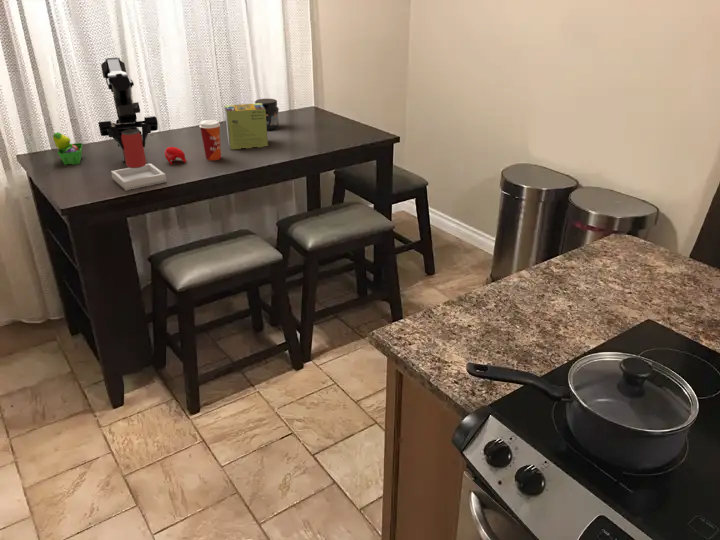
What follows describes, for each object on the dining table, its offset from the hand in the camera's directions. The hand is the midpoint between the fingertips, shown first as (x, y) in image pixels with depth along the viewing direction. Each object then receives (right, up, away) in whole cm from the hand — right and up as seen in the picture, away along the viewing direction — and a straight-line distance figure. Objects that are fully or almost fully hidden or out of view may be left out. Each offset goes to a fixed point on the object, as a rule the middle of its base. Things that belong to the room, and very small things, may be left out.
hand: (133, 147), depth 205 cm
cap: (+7, -1, +25) cm, 25 cm away
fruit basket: (-33, 0, +26) cm, 42 cm away
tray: (0, -10, +7) cm, 12 cm away
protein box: (+30, +10, +45) cm, 55 cm away
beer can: (-1, -5, +4) cm, 7 cm away
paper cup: (+20, +2, +29) cm, 35 cm away
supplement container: (+35, +22, +67) cm, 79 cm away
